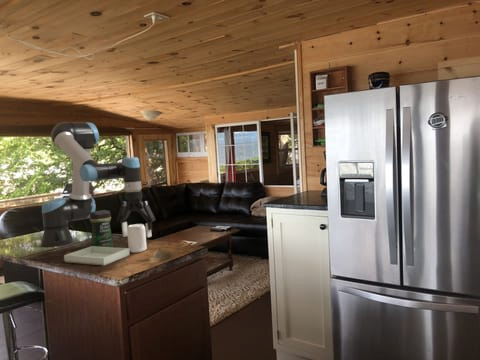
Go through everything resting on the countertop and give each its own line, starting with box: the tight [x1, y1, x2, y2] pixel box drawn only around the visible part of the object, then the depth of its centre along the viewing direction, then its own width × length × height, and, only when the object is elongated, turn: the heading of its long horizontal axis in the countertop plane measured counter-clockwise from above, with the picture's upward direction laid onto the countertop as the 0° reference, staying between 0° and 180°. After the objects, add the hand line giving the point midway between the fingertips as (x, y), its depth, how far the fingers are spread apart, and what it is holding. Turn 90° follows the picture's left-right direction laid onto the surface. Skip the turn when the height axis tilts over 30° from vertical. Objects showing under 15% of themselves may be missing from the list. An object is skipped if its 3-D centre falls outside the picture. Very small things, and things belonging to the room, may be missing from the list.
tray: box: [63, 245, 131, 266], centre depth 171 cm, size 22×16×3 cm
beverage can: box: [127, 223, 148, 254], centre depth 180 cm, size 8×8×12 cm
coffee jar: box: [89, 209, 114, 247], centre depth 190 cm, size 10×8×19 cm
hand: (137, 236), depth 180 cm, fingers open, 13 cm apart
